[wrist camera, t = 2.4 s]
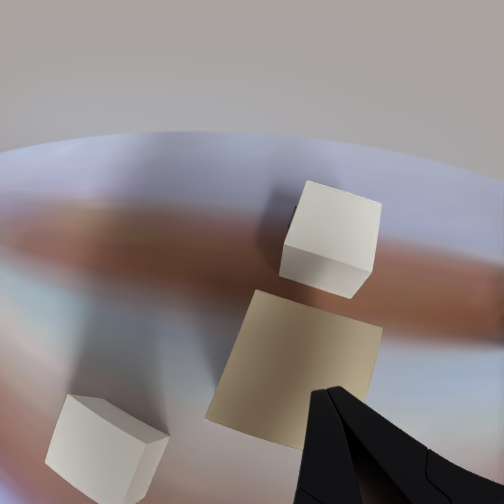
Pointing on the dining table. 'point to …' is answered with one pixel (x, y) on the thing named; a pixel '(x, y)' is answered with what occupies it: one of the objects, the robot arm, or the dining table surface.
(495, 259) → the dining table surface
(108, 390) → the dining table surface
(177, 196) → the dining table surface
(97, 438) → the white block
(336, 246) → the white block
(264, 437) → the maple block
